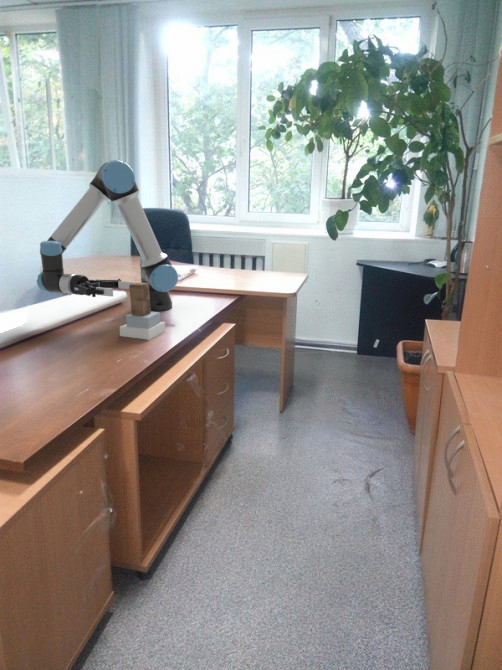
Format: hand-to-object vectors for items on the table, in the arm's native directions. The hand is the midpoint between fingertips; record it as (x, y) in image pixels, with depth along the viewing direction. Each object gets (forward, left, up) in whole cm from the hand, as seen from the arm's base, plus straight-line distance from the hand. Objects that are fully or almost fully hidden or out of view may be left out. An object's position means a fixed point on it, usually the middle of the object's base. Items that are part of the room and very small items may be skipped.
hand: (123, 289), depth 175 cm
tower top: (0, +8, -13) cm, 15 cm away
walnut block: (0, +7, -9) cm, 11 cm away
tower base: (0, +7, -17) cm, 18 cm away
